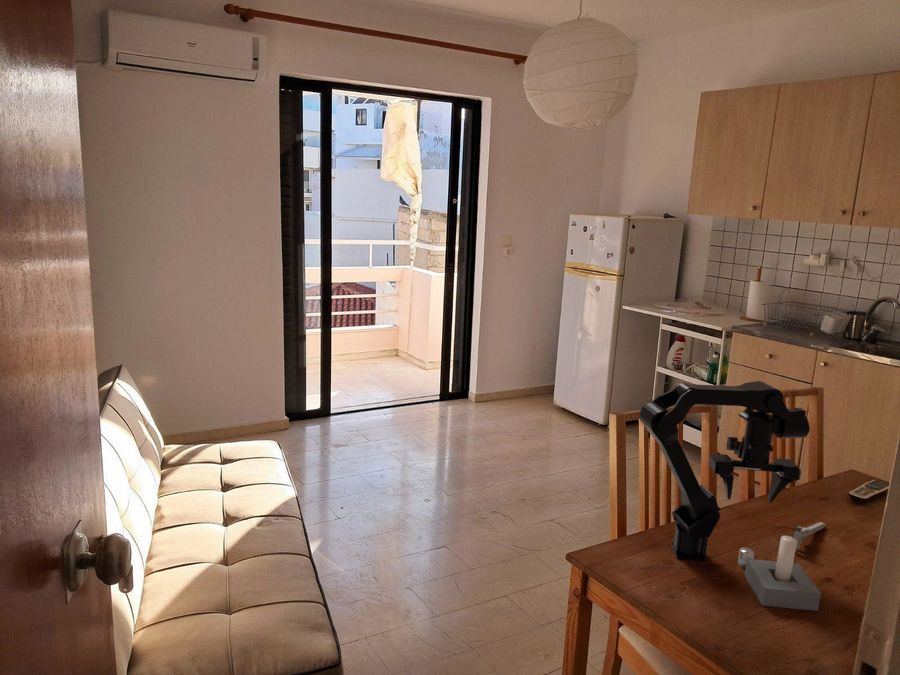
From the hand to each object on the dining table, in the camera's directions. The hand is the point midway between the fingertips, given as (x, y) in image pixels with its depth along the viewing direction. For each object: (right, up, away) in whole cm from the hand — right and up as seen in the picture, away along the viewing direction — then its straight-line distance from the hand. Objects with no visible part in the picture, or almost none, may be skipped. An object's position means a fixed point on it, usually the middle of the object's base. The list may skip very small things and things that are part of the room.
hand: (748, 500), depth 155 cm
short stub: (-2, -14, -3) cm, 14 cm away
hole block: (+1, -16, -13) cm, 21 cm away
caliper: (+19, -12, +10) cm, 25 cm away
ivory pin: (+1, -16, -13) cm, 21 cm away
